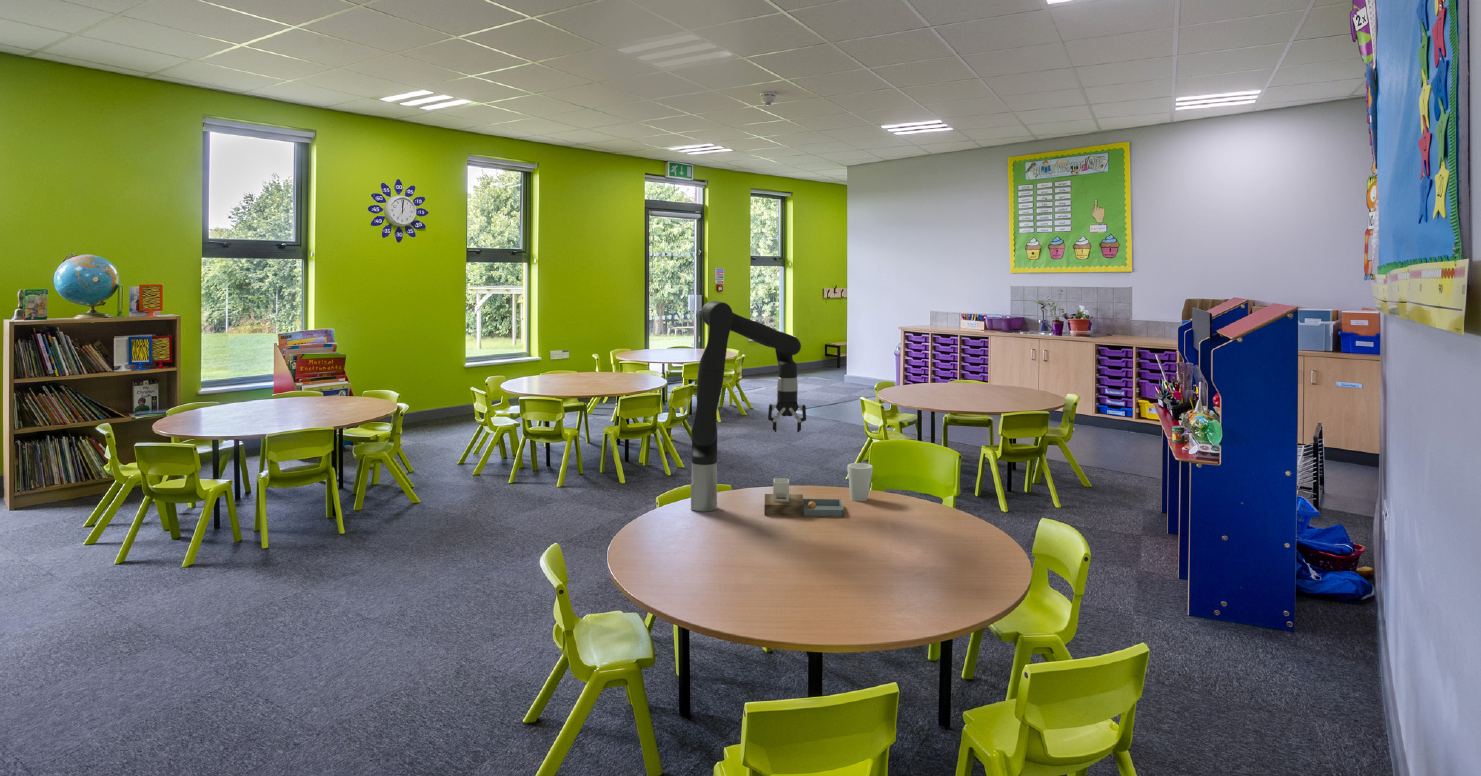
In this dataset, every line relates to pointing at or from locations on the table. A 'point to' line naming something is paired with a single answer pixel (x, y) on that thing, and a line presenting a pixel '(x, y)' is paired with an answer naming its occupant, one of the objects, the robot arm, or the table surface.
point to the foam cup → (859, 480)
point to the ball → (811, 505)
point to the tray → (824, 508)
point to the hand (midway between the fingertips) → (786, 431)
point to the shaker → (781, 490)
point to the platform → (784, 506)
